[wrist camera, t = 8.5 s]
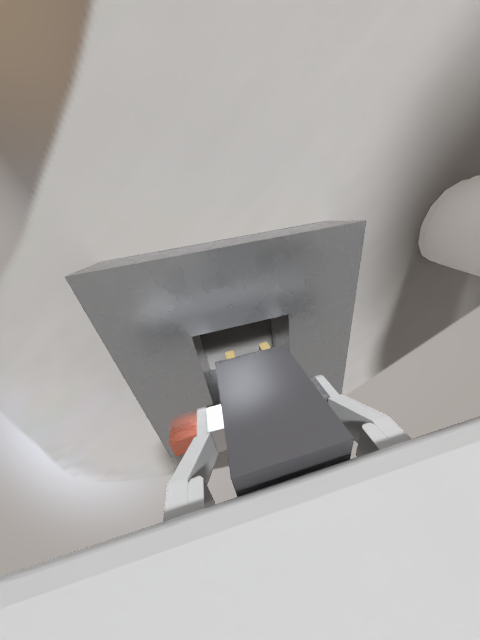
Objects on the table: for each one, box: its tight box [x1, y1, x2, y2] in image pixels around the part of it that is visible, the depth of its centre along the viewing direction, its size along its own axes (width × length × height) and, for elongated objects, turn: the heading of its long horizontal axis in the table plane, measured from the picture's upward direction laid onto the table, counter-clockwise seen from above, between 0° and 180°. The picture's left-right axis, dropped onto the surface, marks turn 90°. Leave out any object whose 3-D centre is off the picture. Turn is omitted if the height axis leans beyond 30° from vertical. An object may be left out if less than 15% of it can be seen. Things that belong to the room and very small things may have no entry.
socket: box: [65, 221, 366, 457], centre depth 15 cm, size 16×16×5 cm
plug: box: [215, 342, 354, 497], centre depth 11 cm, size 4×4×8 cm
